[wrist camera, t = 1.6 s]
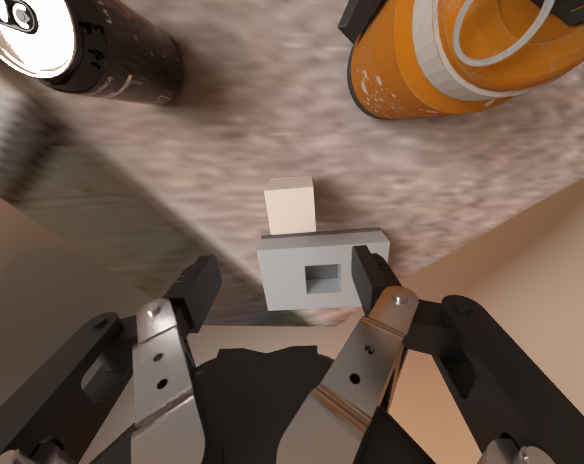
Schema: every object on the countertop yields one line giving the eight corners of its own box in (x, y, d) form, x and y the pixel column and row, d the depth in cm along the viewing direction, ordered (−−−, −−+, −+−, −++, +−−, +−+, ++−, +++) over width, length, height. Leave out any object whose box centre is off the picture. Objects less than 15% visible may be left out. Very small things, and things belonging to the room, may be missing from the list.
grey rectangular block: (379, 227, 29) (390, 241, 26) (374, 286, 34) (382, 305, 30) (261, 235, 30) (256, 250, 27) (271, 291, 35) (268, 310, 31)
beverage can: (118, 12, 20) (-83, -114, 10) (191, 40, 21) (78, -48, 10) (121, 93, 23) (-32, 66, 13) (184, 115, 24) (91, 107, 13)
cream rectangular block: (310, 171, 26) (313, 186, 20) (312, 206, 28) (315, 231, 22) (273, 174, 27) (264, 190, 20) (277, 209, 29) (270, 234, 22)
